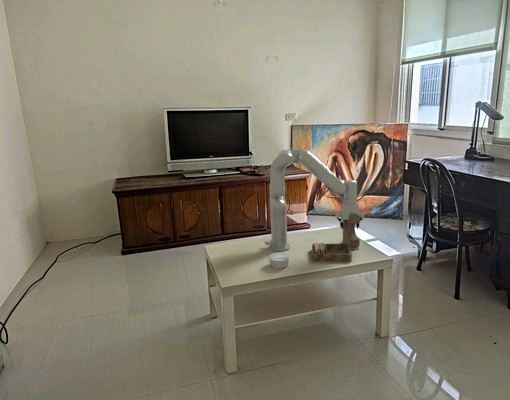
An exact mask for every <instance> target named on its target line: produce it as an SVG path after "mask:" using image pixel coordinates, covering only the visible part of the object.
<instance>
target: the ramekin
mask: <svg viewBox="0 0 510 400" xmlns="http://www.w3.org/2000/svg"><path fill="white" fill-rule="evenodd" d="M268 256H269V257H268V260H269V263H270V265H269V266H271V268H273V269H278V270H281V269H286V268H287V267H288V265H289V261H290V255H288V254H287V253H284V252H275V253H271V254H270V255H268Z"/></svg>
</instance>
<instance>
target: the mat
mask: <svg viewBox="0 0 510 400" xmlns="http://www.w3.org/2000/svg"><path fill="white" fill-rule="evenodd" d="M340 244H345V243H344V242H343V240H340ZM348 246H349V245H348ZM349 249H350V250H359V247H353V248H352V247H350V246H349Z"/></svg>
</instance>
